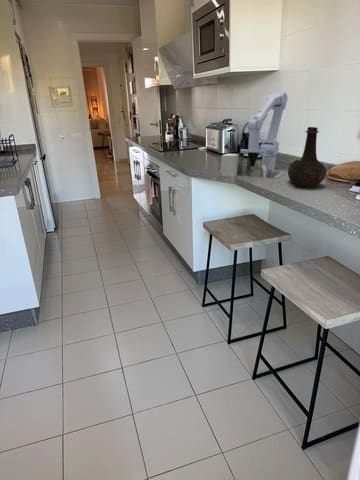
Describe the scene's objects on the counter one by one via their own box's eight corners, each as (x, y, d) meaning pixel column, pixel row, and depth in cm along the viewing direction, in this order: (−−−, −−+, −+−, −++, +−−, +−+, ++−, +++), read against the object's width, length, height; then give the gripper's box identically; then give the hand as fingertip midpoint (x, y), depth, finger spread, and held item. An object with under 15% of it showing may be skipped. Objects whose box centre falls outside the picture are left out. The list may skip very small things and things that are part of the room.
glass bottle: (294, 179, 183) (300, 125, 172) (329, 184, 172) (337, 126, 161) (280, 186, 170) (286, 127, 159) (316, 191, 159) (325, 129, 149)
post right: (247, 171, 206) (247, 158, 203) (250, 171, 205) (251, 158, 202) (245, 172, 204) (246, 158, 201) (249, 172, 203) (250, 159, 200)
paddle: (265, 172, 193) (262, 164, 193) (267, 171, 193) (264, 163, 192) (263, 173, 191) (260, 165, 190) (265, 172, 190) (262, 164, 190)
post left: (238, 176, 195) (239, 162, 192) (242, 176, 194) (243, 162, 191) (237, 176, 193) (237, 162, 190) (241, 177, 192) (241, 163, 189)
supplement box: (238, 176, 194) (239, 153, 190) (233, 178, 189) (234, 155, 184) (226, 175, 198) (226, 153, 193) (221, 177, 192) (221, 155, 187)
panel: (255, 172, 203) (255, 165, 202) (285, 174, 195) (286, 167, 193) (245, 178, 190) (245, 170, 188) (277, 180, 181) (278, 173, 180)
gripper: (238, 142, 189) (238, 166, 195) (264, 143, 183) (262, 168, 188) (243, 140, 195) (242, 164, 200) (268, 141, 188) (266, 166, 193)
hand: (252, 166), depth 194 cm, fingers closed
